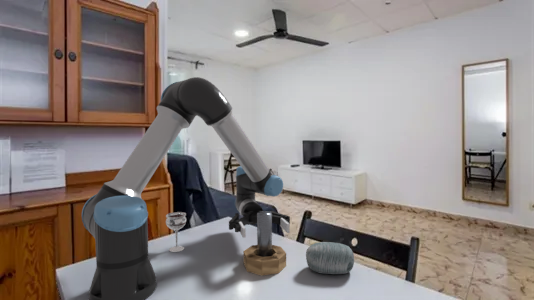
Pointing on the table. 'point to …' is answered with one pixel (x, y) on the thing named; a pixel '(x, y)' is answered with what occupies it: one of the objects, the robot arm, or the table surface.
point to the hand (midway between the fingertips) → (266, 230)
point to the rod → (264, 233)
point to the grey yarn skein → (330, 258)
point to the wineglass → (176, 226)
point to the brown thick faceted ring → (264, 261)
